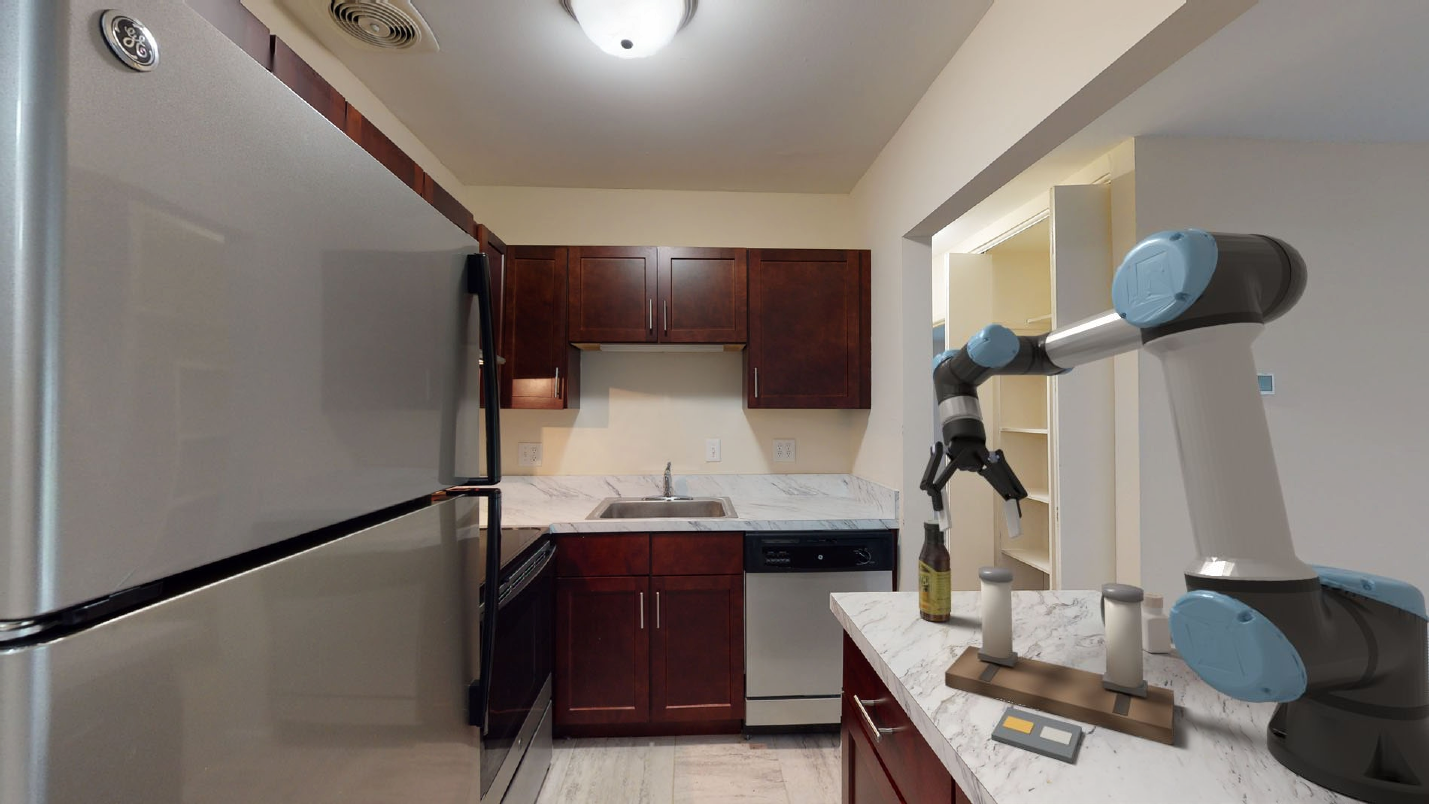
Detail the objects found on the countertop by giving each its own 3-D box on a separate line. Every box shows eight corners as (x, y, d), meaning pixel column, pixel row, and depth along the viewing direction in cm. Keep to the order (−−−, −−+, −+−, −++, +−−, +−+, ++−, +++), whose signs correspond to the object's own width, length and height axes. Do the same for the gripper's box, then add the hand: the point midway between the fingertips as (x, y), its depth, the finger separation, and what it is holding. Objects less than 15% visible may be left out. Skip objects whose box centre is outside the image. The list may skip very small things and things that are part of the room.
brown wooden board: (1174, 704, 86) (1173, 689, 86) (1172, 745, 76) (1171, 728, 76) (969, 657, 103) (969, 645, 103) (945, 685, 93) (945, 671, 93)
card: (1081, 731, 79) (1081, 725, 79) (1071, 763, 72) (1071, 757, 72) (1007, 710, 85) (1007, 705, 85) (991, 738, 78) (991, 733, 78)
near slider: (1148, 685, 87) (1145, 587, 87) (1146, 699, 83) (1143, 595, 83) (1105, 676, 90) (1102, 581, 90) (1101, 689, 86) (1098, 589, 86)
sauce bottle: (915, 612, 126) (913, 517, 127) (946, 613, 126) (944, 517, 126) (923, 623, 120) (921, 523, 120) (956, 624, 119) (953, 523, 120)
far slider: (1018, 657, 97) (1016, 569, 97) (1011, 668, 93) (1009, 576, 94) (984, 650, 101) (982, 564, 101) (976, 660, 97) (974, 571, 97)
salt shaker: (1148, 654, 104) (1146, 598, 104) (1133, 644, 108) (1132, 591, 108) (1172, 654, 103) (1171, 598, 103) (1157, 645, 107) (1156, 591, 107)
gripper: (1008, 440, 121) (1030, 544, 111) (893, 425, 117) (905, 532, 107) (1032, 424, 115) (1059, 533, 105) (911, 408, 111) (927, 519, 101)
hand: (981, 533), depth 106 cm, fingers open, 13 cm apart
